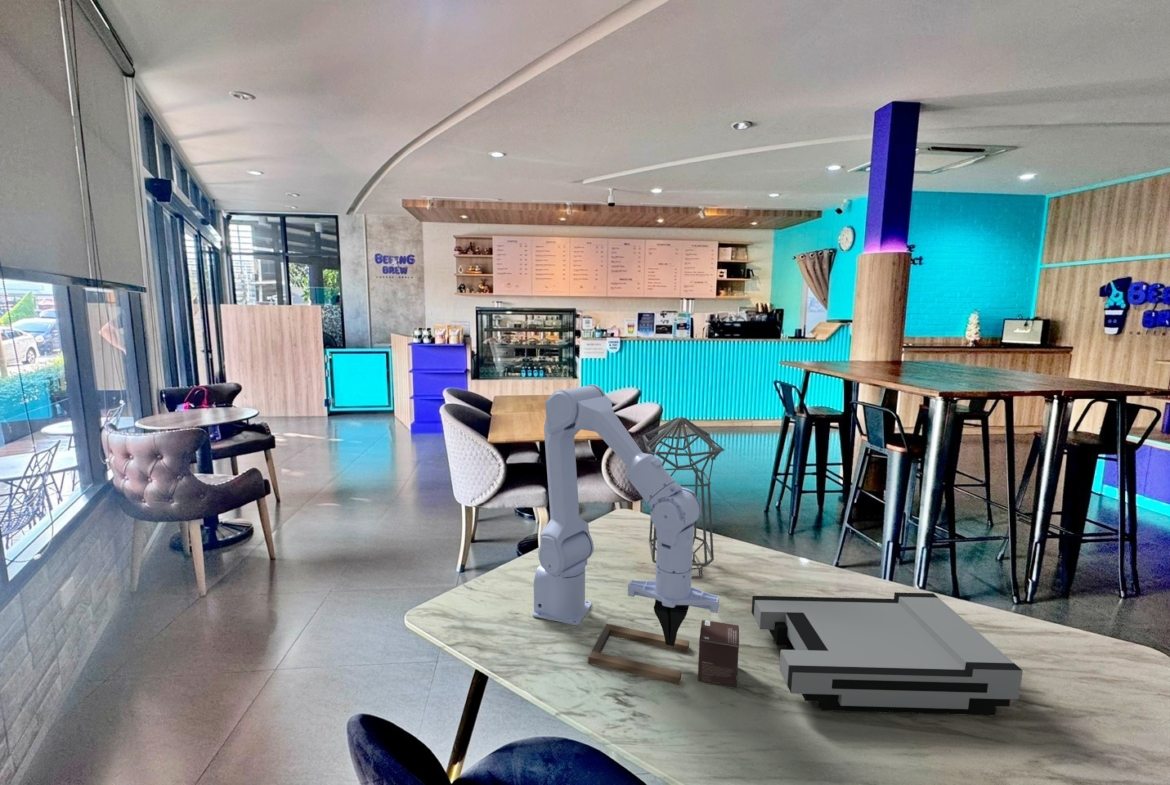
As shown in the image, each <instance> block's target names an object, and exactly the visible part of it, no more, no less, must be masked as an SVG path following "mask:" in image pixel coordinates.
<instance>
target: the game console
mask: <svg viewBox="0 0 1170 785" xmlns="http://www.w3.org/2000/svg"><path fill="white" fill-rule="evenodd" d="M751 599H752V600H751V614H752V616H753V618H754V621H755V622H756V625H757V627H758V629H759V630H767V631H769V634H770V635H771V638H772V639H773V642H774V643H775V645H776V646H786V648H787V649H780V653H779V654H780V655H779V669H778V670H779V672H780V673H781V675H782V679H783V680H784V683H785V684H786V687H787V688H788V690H789V693H791V694H798V695H800V694H801V695H802V697H803V699H804V701H805V702H817V705H818V707H819V708H820V709H821V711H822V712H852V713H853V712H857V713H885V712H886V713H885V714H887V713H888V714H889V713H892V714H893V713H894V714H919V713H921V714H922V713H923V714H926V715H928V714H929V715H955V714H967V716H990V715H996V708H997V707H1004V708H1005V707H1007V708H1009V707H1010V705H1011V704H1010V703H1011V700H1020V699H1019V698H1020V692H1021V686H1022V679H1023V678H1022V677H1023V673H1024V672H1023V671H1024V670H1023V669H1022V668H1021V667H1019V666H1018V665H1017V664H1016V663H1015V662H1014V661H1012V660H1011V659H1010V658H1009V657H1008V656H1007V655H1006V654H1004V653H1003V652H1002V651H1001V650H1000V649H998V648H997V647H996V646H995V645H994V644H993V643H992V642H990V640H988V639H987V638H986V637H985V636H983V635H982V634H981V633H980V632H979V631H978V630H977V629H975V628H974V627H973V626H972V625H971V624H970V623H969V622H968V621H967V620H965V619H964V618H963V617H961V615H959V614H958V613H957V612H956V611H955V610H953V609H952V608H951V607H950V606H949V605H948V604H947V603H945V602H944V601H943V600H942V599H941V598H940V597H938V596H937V595H936V594H935V593H933V592H897V591H896V592H895V591H894V593H893V598H884V597H883V598H879V597H878V598H875V597H873V598H872V597H868V598H867V597H838V596H836V597H833V596H832V597H830V596H829V597H827V596H826V597H825V596H786V595H785V596H783V595H781V596H780V595H777V596H776V595H752V598H751ZM969 714H970V715H969Z"/></svg>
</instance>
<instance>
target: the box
mask: <svg viewBox="0 0 1170 785" xmlns="http://www.w3.org/2000/svg"><path fill="white" fill-rule="evenodd" d="M700 625H701V626H700V629H699V630H700V631H699V632H700V634H699V641H698V643H699V644H698V661H697V662H698V663H697V664H698V665H697V668H698V669H697V682H698V683H703V684H708V685H713V686H719V687H724V688H729V689H730V688H731V689H737V688H738V670H739V669H738V668H739V652H740V651H739V650H740V626H739V624H732V623H725V622H721V621H719V622H718V621H713V620H707V619H706V620H705V619H702V620H701V624H700Z"/></svg>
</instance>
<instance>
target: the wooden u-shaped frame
mask: <svg viewBox="0 0 1170 785" xmlns="http://www.w3.org/2000/svg"><path fill="white" fill-rule="evenodd" d="M610 637H612V638H613V637H614V638H618V639H623V640H626V641H631V642H637V643H641V644H645V645H649V646H656V647H660V648H664V649H669V650H673V651H678V652H682V653H689V649H690V640H688V639H687V640H686V639H681V638H677V637H676V641H675V644H674V646H669V645H666V644H665V638H664V634H658V633H653V632H649V631H645V630H638V629H636V628H635V629H634V628H629V627H624V626H620V625H615V624H609V623H605V625H604V627H603V629H602V631H601V632H600V635H599V636H598V638H597V640H596V642H595V644H594V645H593V647H592V649H591V651H590V653H589V654H588V657H587V663H588V664H589V665H593V666H599V667H602V668H603V667H604V668H607V669H610V670H614V671H619V672H624V673H626V674H627V673H628V674H631V675H636V676H640V677H644V678H647V679H648V678H649V679H653V680H657V681H662V682H664V683H665V682H666V683H670V684H673V685H679V686H680V683H681V679H682V670H676V669H673V668H672V669H671V668H669V667H664V666H660V665H659V666H658V665H655V664H650V663H646V662H642V661H638V660H634V659H633V660H632V659H629V658H624V657H620V656H616V655H611V654H606V653H603V650H604V649H605V647H606V645H607V642H608V641H609V639H610Z"/></svg>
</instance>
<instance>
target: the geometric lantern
mask: <svg viewBox="0 0 1170 785" xmlns="http://www.w3.org/2000/svg"><path fill="white" fill-rule="evenodd" d="M686 427H687V428H689V429H690V430H691V431H692V432H693V433H690V434H687V428H686ZM661 430H662V431H661ZM682 430H683V434H684V435H682V436H681V433H682ZM657 432H659V433H657ZM655 433H657V434H655ZM676 434H677V436H676ZM671 435H672V436H671ZM647 436H648V437H649V438H651V440H649V439H648V438H647ZM690 437H694V438H692V440H690V441H689V438H690ZM641 438H642V439H643V443H644V447H645V450H646V454H652V455H655V456H657V457H658V458H659V459H661V460H662V463H663V464H662V466H663V467H664V465H665V463H668V464H669V465H670V466H673V468H664V469H665V470H666V471H673V472H671V474H669V475H670V476H671V477H673V475H674V474H675V473H676V472H677V471H688V470H689V471H691V470H692V471H693V472H694V474H695V475H694V478H695V479H694V480H695V481H694V484H680V486H681V487H694V493H695V494H696V497H697V498H698V487H701V488H700V491H701V492H700V494H701V515H702V516H701V517H702V534H703V538H701V537H699V536H697V528H698V527H697V525H698V523H697V521H698V519H697V520H696V521H695V522H694V523H693V525H694V535H693V546H694V543H695V540H697V541H700V542H701V544H699V546H698V547H696V548H695V550H693V557H692V571H693V570H698V575H692V577H691V579H695V578H696V579H701V578H702V577H703V572H704V571H703V568H705V567H707V566H709V565H710V564H711V563H712V562H713V561H714V560H715V557H714V541H713V540H714V538H713V518H712V502H711V501H712V500H711V499H712V498H711V484H712V483H711V478H712V477H711V476H712V472H713V471H712V470H713V464H714V461H715V460H717V458H716V457H718V456H719V454H720V453H722V452H724V451H725V449H724V447H722V446H721V445H720V444H719V443H717V442H716V441H715V440H713V439H712V437H711V435H710V433H709V432H707V431H706V430H703V429H702V428H700V427H699V426H697V425H696V424H695V423H693V422H691V421H690V420H689V418H686V417H684V416H683V417H682V416H681V417H675V418H672V419H671V420H669V421H667V422H665V423H663V424H661V425H659V426H658V427H656V428H654V429H652V430H650V431H649V432H646V433H644V434H643V435H641ZM699 438H700V439H701V440H702V441H703V442H704V443H705V444H707V445H708V447H707V448H708V450H707V451H703V452H702V451H701V452H694V453H692V451H691V445H692V444H694V443H695V441H697V439H699ZM668 439H670V440H671V443H670V444H671V445H669V444H668V443H666V442H667V440H668ZM681 439H683V444H682V447H679V446H680V441H681ZM663 440H664V441H663ZM674 440H676V442H675V443H676V444H675V447H674ZM659 444H661V445H660V446H659ZM658 446H659V447H658ZM663 446H665V447H667V448H669V449H668V451H660V450H661V449H662V447H663ZM657 447H658V449H657V450H656V451H655V452H654V450H655V449H656V448H657ZM686 449H687V450H686ZM672 450H675V451H672ZM678 451H685V452H678ZM663 455H665V456H663ZM670 455H671V456H672V455H673V456H674V460H675V463H673V462H672V461H671V460H669V459H668V457H669V456H670ZM703 455H705V456H703ZM695 456H696V457H697V456H703V457H702V458H700V459H697V460H696V461H694V460H693V458H692V457H695ZM678 457H688V460H689V464H683V465H679V464H678ZM710 460H711V464H710V470H709V475H708V476H707V474H706V473H705V469H706V467H707V465H708V463H709V461H710ZM703 461H705V462H704V464H703V466H702V468H701V469H699V467H698V466H697V465H698V464H700V463H701V462H703ZM699 473H700V475H699ZM704 478H705V479H706V481H707V483H705V482H704ZM698 482H699V483H700V484H698ZM705 487H707V501H708V502H707V504H708V505H707V506H708V522H709V543H710V546H709V545H708V542H707V527H706V524H707V523H706V503H705ZM651 511H652V509H651V508H650V512H651ZM649 523H650V524H649V537H648V545H649V550H650V555H651V556H650V557H651V561H652V563H654V564H656V552H657V538H656V528H655V526H654V524H653V523H652V520H651V519H650V522H649ZM702 546H703V552H704V553H703V554H704V556H703V557H704V562H700V560H699V558H698V556H697V555H696V553H697V552H698V551H699V550H700V548H701V547H702ZM708 555H709V557H710V559H709V560H708ZM695 566H696V567H695Z"/></svg>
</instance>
